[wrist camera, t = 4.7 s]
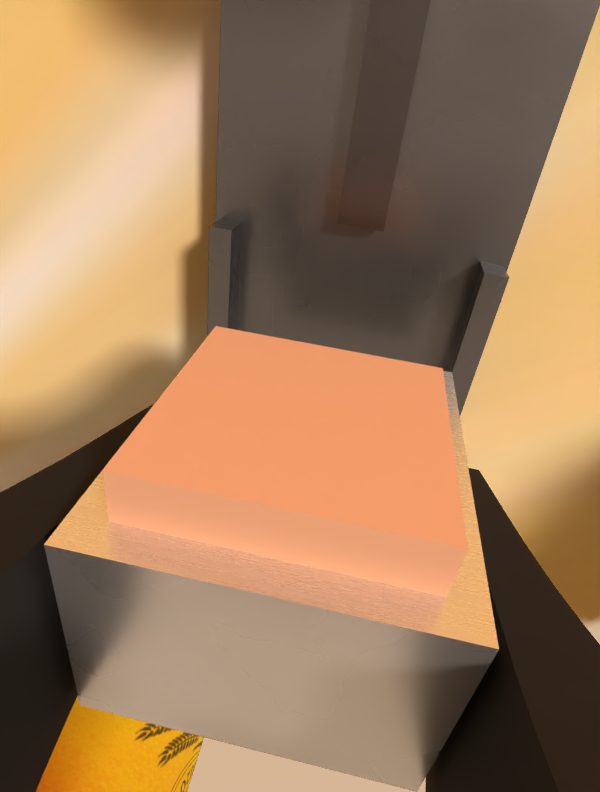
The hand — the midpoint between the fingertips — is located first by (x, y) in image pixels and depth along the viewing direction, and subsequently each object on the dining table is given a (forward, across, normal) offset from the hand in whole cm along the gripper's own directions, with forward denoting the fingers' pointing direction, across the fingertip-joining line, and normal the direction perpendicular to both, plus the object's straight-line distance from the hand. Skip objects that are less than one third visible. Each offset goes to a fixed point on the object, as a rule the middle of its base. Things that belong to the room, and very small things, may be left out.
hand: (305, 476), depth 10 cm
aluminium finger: (+2, 0, 0) cm, 2 cm away
